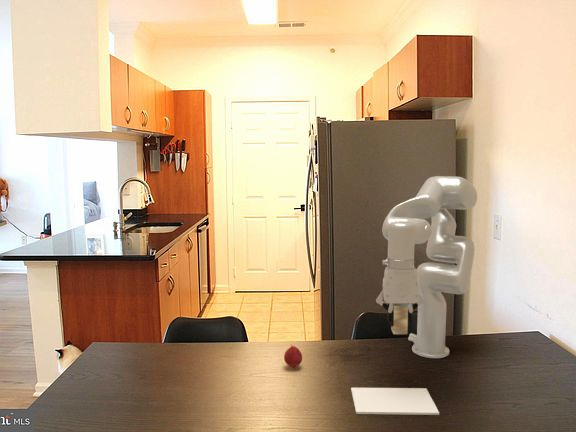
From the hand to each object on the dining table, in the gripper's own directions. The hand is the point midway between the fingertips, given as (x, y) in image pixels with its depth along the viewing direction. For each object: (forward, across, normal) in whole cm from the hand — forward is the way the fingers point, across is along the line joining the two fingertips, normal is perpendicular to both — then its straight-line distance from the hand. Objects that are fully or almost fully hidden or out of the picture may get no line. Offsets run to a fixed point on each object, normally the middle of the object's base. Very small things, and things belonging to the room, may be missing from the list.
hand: (399, 324), depth 148 cm
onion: (+19, -32, +12) cm, 39 cm away
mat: (+19, -3, -10) cm, 22 cm away
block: (+2, 0, 0) cm, 2 cm away
